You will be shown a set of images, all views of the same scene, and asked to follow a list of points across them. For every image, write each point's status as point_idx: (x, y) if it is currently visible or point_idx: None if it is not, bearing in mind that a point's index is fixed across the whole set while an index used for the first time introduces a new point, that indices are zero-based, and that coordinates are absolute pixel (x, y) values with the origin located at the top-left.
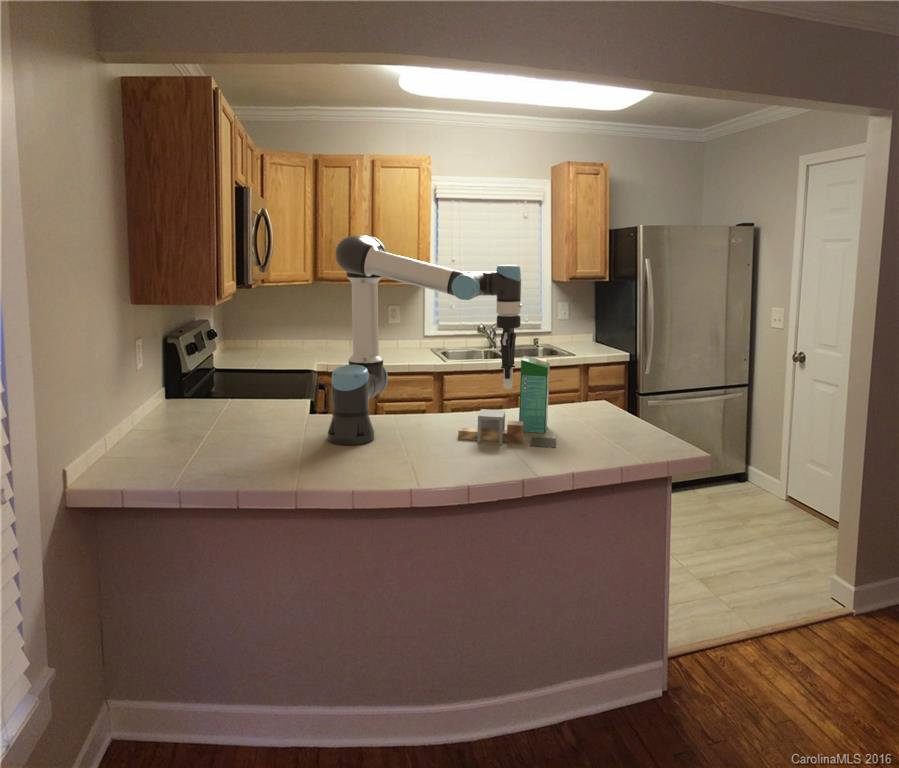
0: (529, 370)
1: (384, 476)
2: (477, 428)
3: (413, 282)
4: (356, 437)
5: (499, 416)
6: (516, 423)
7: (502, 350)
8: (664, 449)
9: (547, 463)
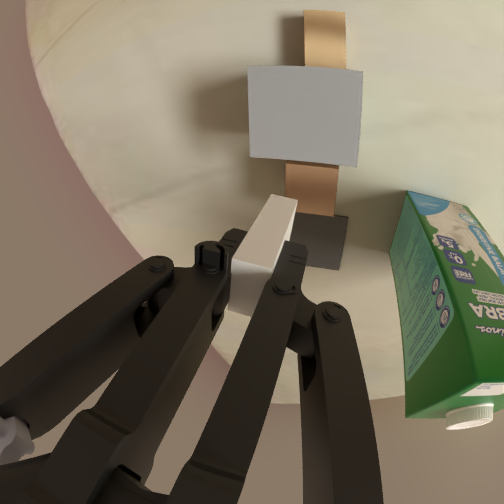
0: (442, 361)
1: (55, 3)
2: (345, 64)
3: None
4: None
5: (257, 144)
6: (305, 193)
7: (31, 353)
8: (288, 386)
9: (167, 232)
